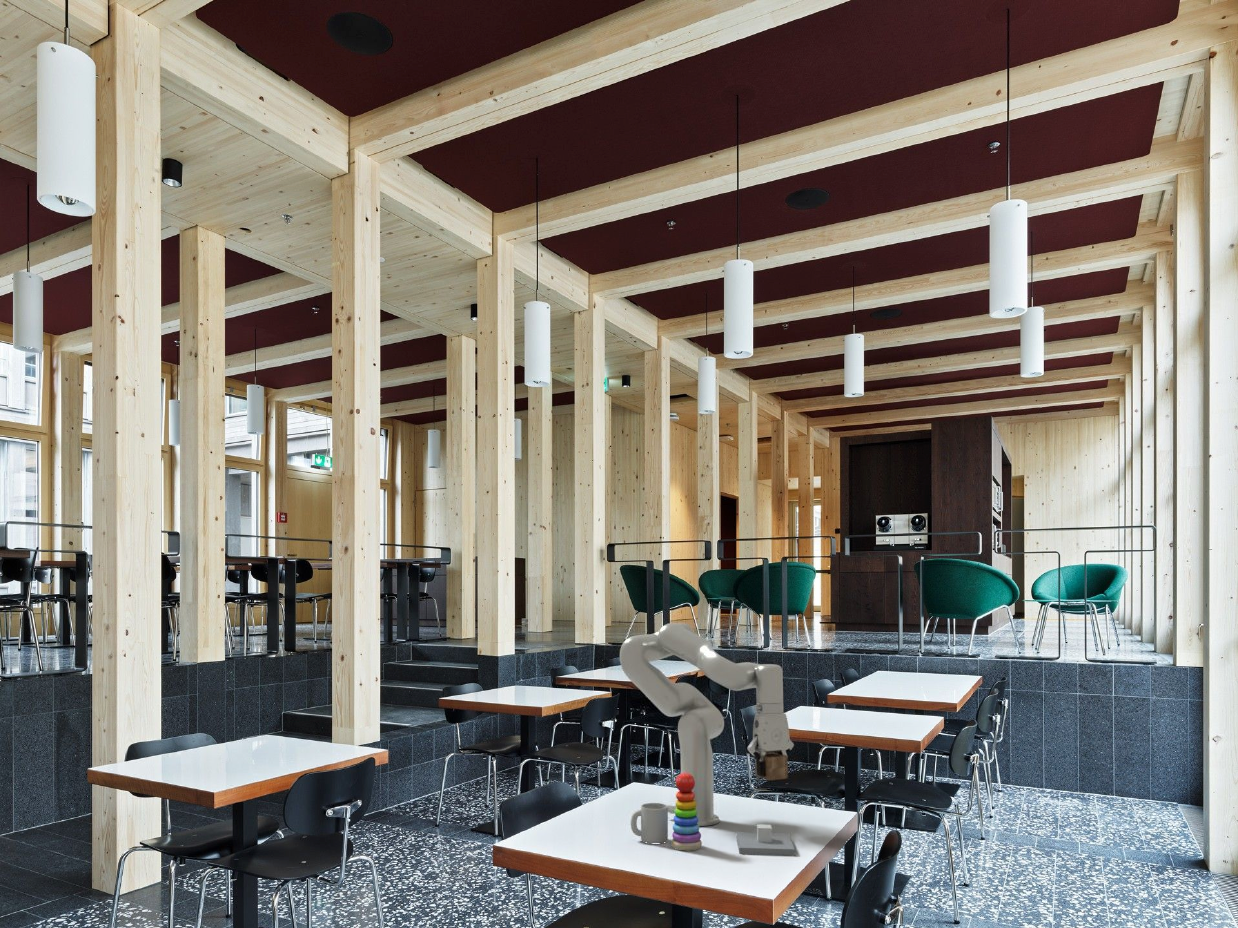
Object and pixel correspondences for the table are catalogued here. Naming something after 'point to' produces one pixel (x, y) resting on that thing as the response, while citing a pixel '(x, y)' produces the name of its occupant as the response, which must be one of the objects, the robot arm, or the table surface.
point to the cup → (651, 823)
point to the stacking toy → (686, 816)
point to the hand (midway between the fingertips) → (771, 773)
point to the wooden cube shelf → (774, 766)
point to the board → (764, 842)
